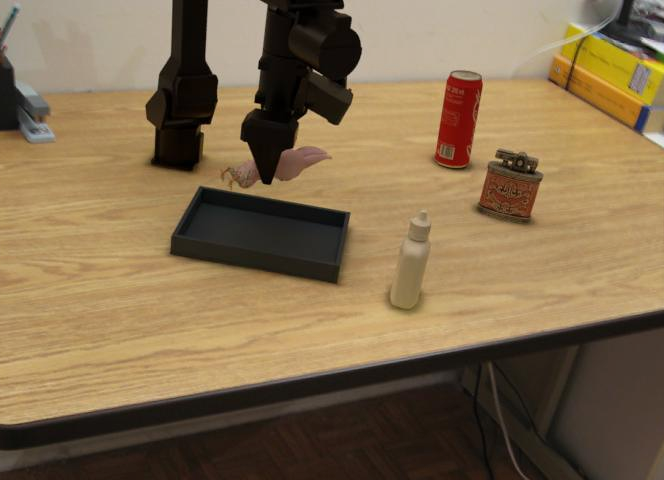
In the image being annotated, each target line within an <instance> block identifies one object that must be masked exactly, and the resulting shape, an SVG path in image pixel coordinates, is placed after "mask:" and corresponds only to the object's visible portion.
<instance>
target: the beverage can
mask: <svg viewBox="0 0 664 480" xmlns="http://www.w3.org/2000/svg"><path fill="white" fill-rule="evenodd" d="M448 75H449V76H448V77H447V79H446V82H445V89H444V96H443V102H442V107H441V108H442V109H441V115H440V121H439V128H438V135H437V140H436V147H435V153H434V160H435V162H436V163H437V164H438V165H441V166H442V167H447V168H452V169H460V168H465V167H467V166H468V165H469V163H470V161H471V160H470V159H471V155H472V151H473V150H472V149H473V143H474V139H475V132H476V127H477V121H478V116H479V115H478V114H479V110H480V104H481V99H482V93H483V87H484V83H483V76H482V75H481V73H478V72H476V71H472V70H462V69H461V70H460V69H457V70H452V71H450V73H449V74H448Z"/></svg>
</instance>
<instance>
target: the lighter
mask: <svg viewBox="0 0 664 480" xmlns="http://www.w3.org/2000/svg"><path fill="white" fill-rule="evenodd" d="M494 158H496V159H498V160H501V161H498V160H490V161H488V163H487V166H486V169H487V171H486V174H485V178H484V183H483V186H482V189H481V194H480V197H479V201H477V203H476V211H477V212H478V213H480V214H483V215H487V216H488V217H492V218H496V219H499V220H504V221H507V222H511V223H518V224H529V223H530V222H531V219H532V211H533V209H534V205H535V201H536V199H537V194H538V192H539V188H540V184H541V182H542V181H543V179H544V174H543V172H541V171H539V170H536V169H538V168H537V167H538V165H539V162H540V158H538V157H533V156H529V155H528V154H527V153H526V151H519V152H518V153H516V152H514V151H512V150H510V149H509V150H508V149H505V148H499V147H498V149H496V152H495V155H494ZM510 162H511V163H510Z"/></svg>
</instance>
